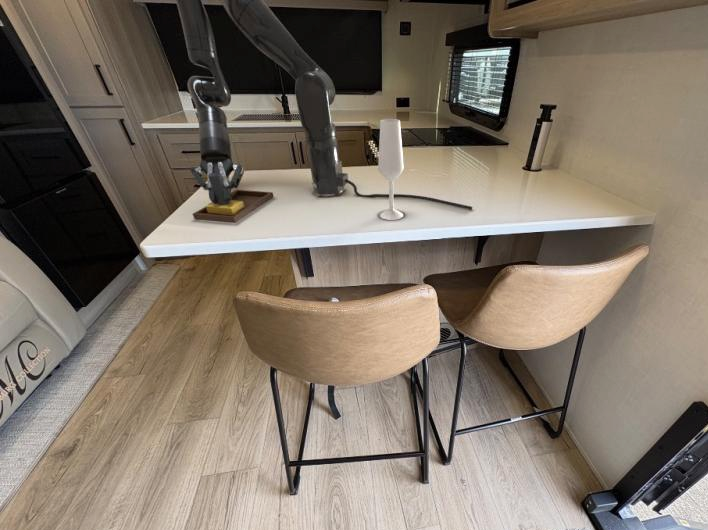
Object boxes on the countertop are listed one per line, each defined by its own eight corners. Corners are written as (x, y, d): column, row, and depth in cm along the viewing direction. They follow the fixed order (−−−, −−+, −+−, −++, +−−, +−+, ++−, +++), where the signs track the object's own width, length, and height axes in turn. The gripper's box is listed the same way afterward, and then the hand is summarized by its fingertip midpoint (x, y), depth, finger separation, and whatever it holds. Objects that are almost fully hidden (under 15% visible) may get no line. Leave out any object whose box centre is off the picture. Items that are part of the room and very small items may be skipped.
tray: (274, 198, 105) (272, 192, 104) (236, 224, 89) (233, 217, 88) (238, 196, 107) (236, 189, 106) (195, 221, 91) (192, 213, 90)
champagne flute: (401, 210, 97) (402, 118, 83) (404, 219, 92) (405, 122, 77) (379, 211, 96) (375, 118, 82) (380, 220, 91) (377, 123, 77)
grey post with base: (245, 209, 96) (234, 172, 89) (234, 217, 91) (221, 178, 85) (220, 207, 97) (207, 170, 90) (208, 214, 93) (194, 176, 86)
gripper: (181, 136, 87) (186, 198, 85) (237, 134, 90) (244, 193, 87) (193, 153, 94) (199, 210, 92) (245, 150, 97) (251, 206, 95)
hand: (221, 201), depth 90 cm, fingers closed on grey post with base, 2 cm apart
